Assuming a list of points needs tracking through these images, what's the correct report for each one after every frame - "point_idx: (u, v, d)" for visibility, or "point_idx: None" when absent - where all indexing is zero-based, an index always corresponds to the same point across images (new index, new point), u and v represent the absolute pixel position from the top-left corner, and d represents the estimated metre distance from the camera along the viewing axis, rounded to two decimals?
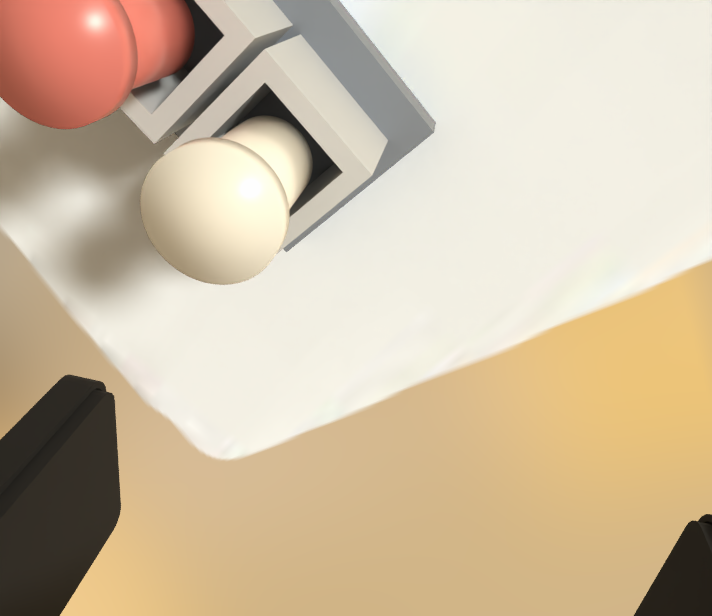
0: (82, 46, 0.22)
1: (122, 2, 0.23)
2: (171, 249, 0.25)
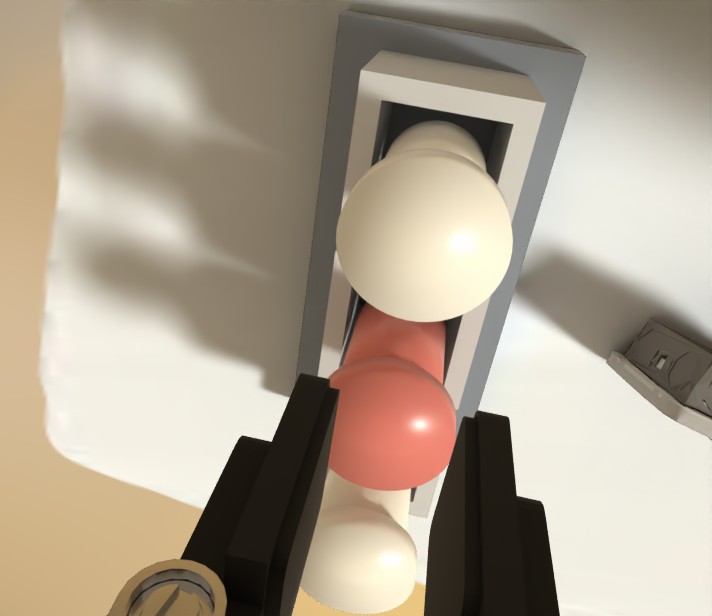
0: (404, 459, 0.24)
1: None
2: None
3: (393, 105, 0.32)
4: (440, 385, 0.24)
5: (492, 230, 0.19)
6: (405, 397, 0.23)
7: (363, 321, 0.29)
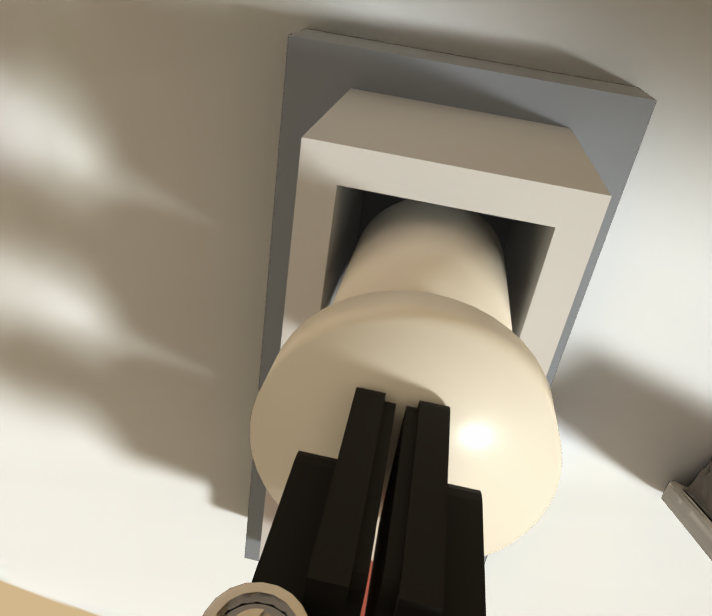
0: None
1: None
2: None
3: None
4: None
5: (525, 444, 0.11)
6: None
7: None
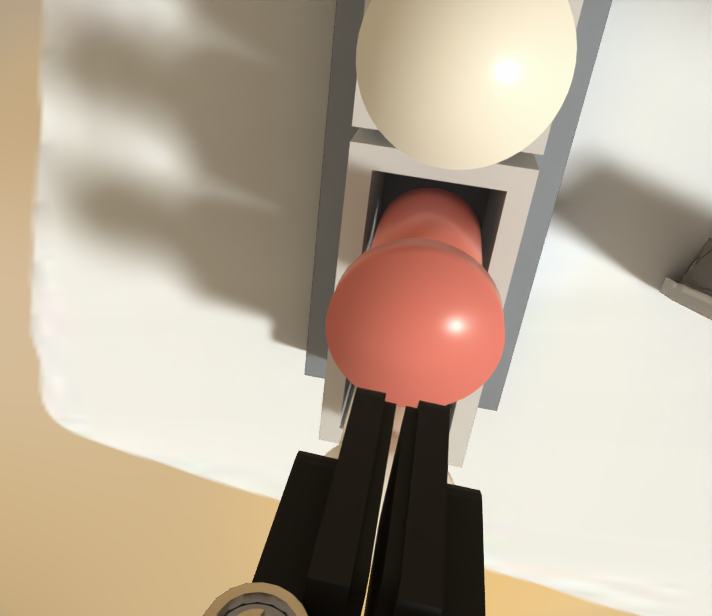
0: (442, 365, 0.20)
1: None
2: None
3: None
4: (484, 270, 0.19)
5: (551, 34, 0.16)
6: (442, 282, 0.19)
7: (385, 221, 0.24)
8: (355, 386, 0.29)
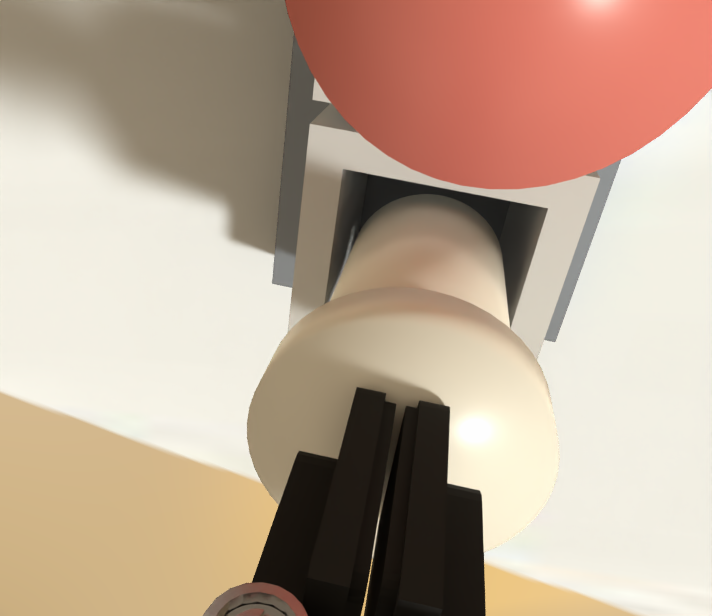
0: (588, 50, 0.07)
1: None
2: (277, 423, 0.11)
3: None
4: None
5: None
6: None
7: None
8: (350, 252, 0.17)
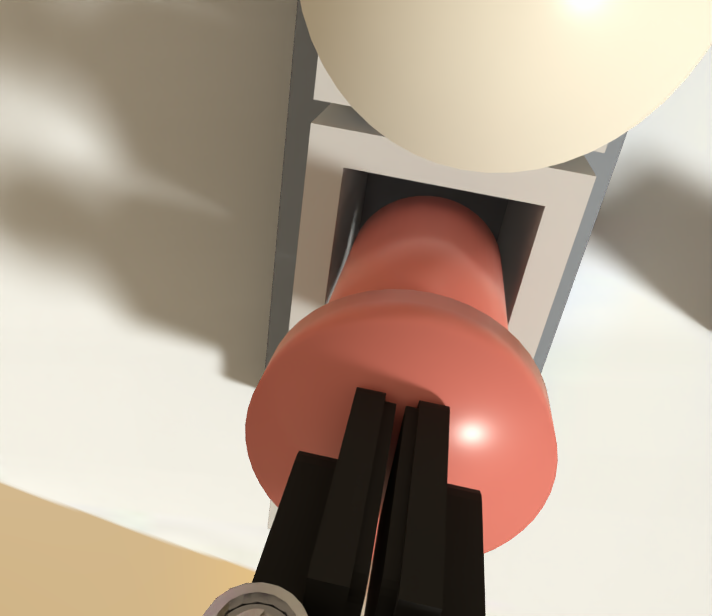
0: None
1: None
2: None
3: None
4: (522, 350, 0.11)
5: None
6: (451, 375, 0.10)
7: (360, 245, 0.16)
8: None
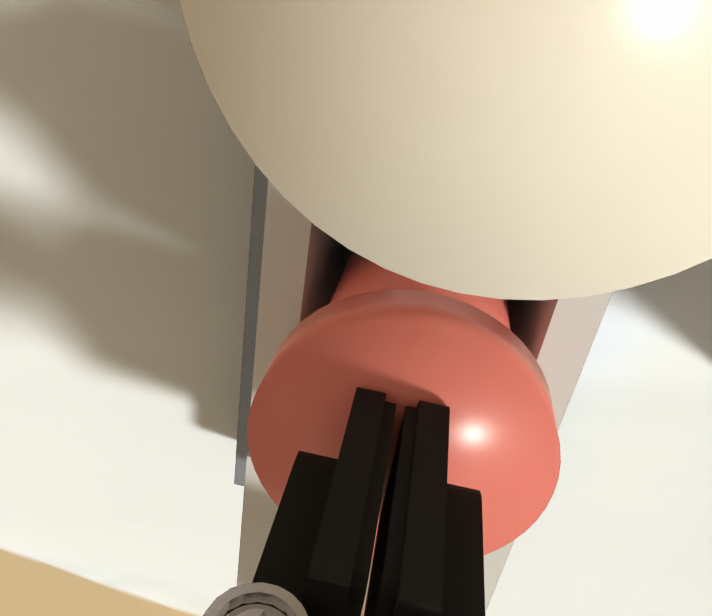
0: None
1: None
2: None
3: None
4: (525, 350, 0.11)
5: None
6: (453, 375, 0.10)
7: None
8: None
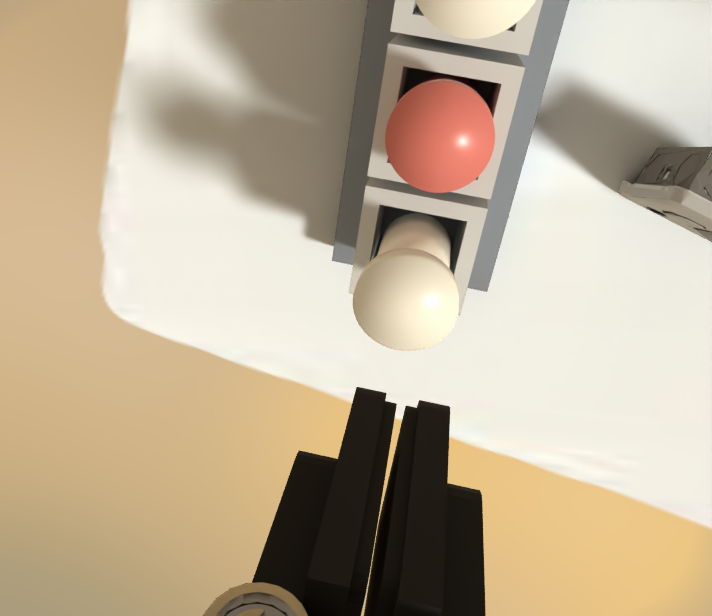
0: (456, 161, 0.33)
1: None
2: (364, 294, 0.33)
3: None
4: (483, 99, 0.32)
5: None
6: (459, 102, 0.31)
7: None
8: (382, 239, 0.39)
